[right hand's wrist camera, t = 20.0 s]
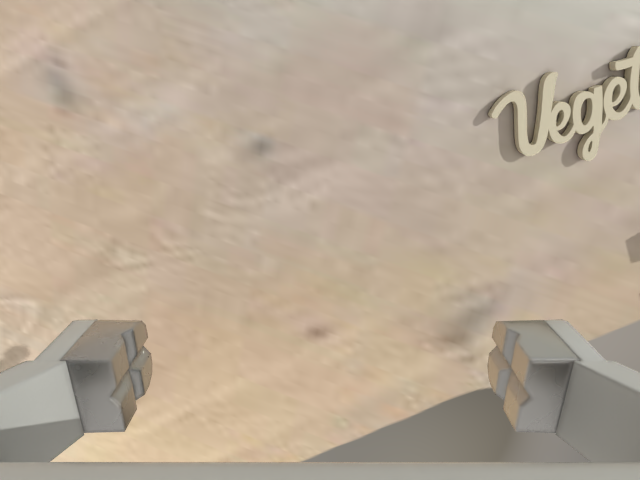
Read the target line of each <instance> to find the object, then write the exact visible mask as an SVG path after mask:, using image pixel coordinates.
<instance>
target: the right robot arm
mask: <svg viewBox="0 0 640 480" xmlns="http://www.w3.org/2000/svg"><path fill="white" fill-rule="evenodd" d="M147 338H148V334H147V329H146V325H145V324H144V323H143V322H142V321H131V320H76V321H72V322H71V323H70V324H69V326H68V327H67V328H66V329H65V330H64V331H63V332H62V333H61V334H60V335H59V336H58V337H57V338H56V339H55V340H54V341H53V342H52V343H51V344H50V345H49V346H48V347H47V348H46V349H45V350H44V351H43V352H42V353H41V354H40V355H39V356H38V357H37V358H36V359H35V360H34V361H25V362H23V363H20V364H18V365H16V366H14V367H11V368H9V369H7V370H5V371H3V372H0V480H640V373H639V372H637V371H635V370H633V369H631V368H628V367H626V366H624V365H622V364H620V363H617V362H615V361H606V360H605V359H604V358H603V357H602V356H601V355H600V354H599V353H598V352H597V351H596V350H595V349H594V348H593V347H592V346H591V345H590V344H589V343H588V342H587V341H586V340H585V339H584V338H583V337H582V335H581V334H580V333H579V332H578V331H577V330H576V329H575V328H574V327H573V326H572V325H571V324H570V323H569V322H568V321H565V320H562V319H559V320H531V321H497V322H496V324H495V326H494V328H493V334H492V338H493V340H494V341H495V343H496V345H497V346H496V347H495V348H494V349H493V350H492V351H491V352H490V353H489V359H488V376H489V381H490V384H491V387H492V389H493V391H494V393H495V395H497V396H498V397H500V398H501V399H503V400H504V407H503V410H504V411H505V413H506V415H507V417H508V419H509V421H510V422H511V424H512V426H513V428H514V430H515V431H516V432H547V433H556V435H557V436H558V437H560V438H561V439H562V440H563V441H565V442H566V443H567V444H568V445H570V446H571V447H572V448H573V449H575V450H576V451H577V452H578V453H580V454H581V455H582V456H584V457H585V458H586V459H587V460H589V461H590V462H50V461H52V460H53V459H54V458H55V457H57V456H58V455H59V454H60V453H62V452H63V451H64V450H65V449H67V448H68V447H69V446H71V445H72V444H73V443H74V442H76V441H77V440H78V439H79V438H81V437H82V436H83V435H84V433H93V432H125V430H126V428H127V426H128V424H129V422H130V421H131V419H132V417H133V415H134V413H135V411H136V410H137V407H136V400H137V399H139V398H140V397H142V396H143V395H145V393H146V391H147V389H148V387H149V384H150V380H151V376H152V358H151V353H150V352H149V351H148V350H147V349H146V348H145V347H144V346H143V345H144V343H145V341H146V340H147Z"/></svg>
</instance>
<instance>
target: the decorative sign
mask: <svg viewBox="0 0 640 480" xmlns="http://www.w3.org/2000/svg"><path fill="white" fill-rule="evenodd" d="M609 68H610V70H613V71H617V70H622V69H625V74H624V78H622V77H609V78H608V79H606V80H605V82H604V83H603V85H595V86H592V87H590V88H589V90H588V91H577V92H575V93H574V94H573V95H572V96H571V98H570V100H569V104H567V103H566V102H561V101H555V102H553V98H554V90H555V83H556V78H557V76H558V73H557V72H548V73H546V74H544V75H543V76H542V78H541V80H540V83H539V91H538V105H537V116H536V123H535V129H534V135H533V140H532V142H531V143H529V142H528V136H527V105H526V98H525V96H524V94H523V93H522V92H520V91H514V90H511V91H508V92H507V93H505V94H504V95H502V96H501V97H500V98H499V99H498V100H497V101H496V102H495V103H494V105H493V106H492V107H491V109H490V111H489V113H488V116H489V117H491V118H498V116H499V114H500V113H501V111H502V110H503V108H504V107H505V106H506V105H507V104H508V103H510V102H512V104H513V107H514V136H515V145H516V148H517V150H518V151H519V152H520V153H521V154H524V155H526V156H533V155H536V154H537V153H539V152H540V151H541V150H542V148H543V146H544V144H545V142H546V139H547V137H548V139H549V140H550V141H552V142H555V143H558V144H562V143H565V142H567V141H569V140H570V139H571V138H572V137H573V135H574V133H578V134H585V133H586V134H585V135H584V136H583V138H582V139H581V141H580V143H579V145H578V149H577V153H578V156H579V158H580V159H583V160H585V161H591V160H592V159H594V157H595V156H596V154H597V151H598V146H599V140H600V134H601V132H602V131H603V130H604V128H605V127H606V125H607V123H608V120H619V119H621V118H623V117H624V116H625V115H626V114H627V113H628V112H629V110H630V108H631V109H638V110H640V46H633V47H631V48H630V50H629V52H628V54H627V57H626V58H624V59H621V60H617V61H613V62H609ZM613 90H614V94H613ZM612 94H613V96H612ZM623 97H624V99H623ZM585 99H586V101H587V111H586V116H585V118H584V120H583V122H582V121H581V107H582V104H583V102H584V100H585ZM622 99H623V101H622V103H621V105H620V106H619V108H618V109H617V110H616V111H615V110H614V109H613V106H616V105H618V104H619V103H620V102H621V100H622ZM558 112H559V118H558V120H557V122H556V118H557V114H558ZM567 122H569V124H568V126H567V128H566V130H565V131H564V132H563V133H562V134H561V135H560V134H559V133H558V131H557V130H561V129H562V128H564V127H565V125H566V124H567Z"/></svg>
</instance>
